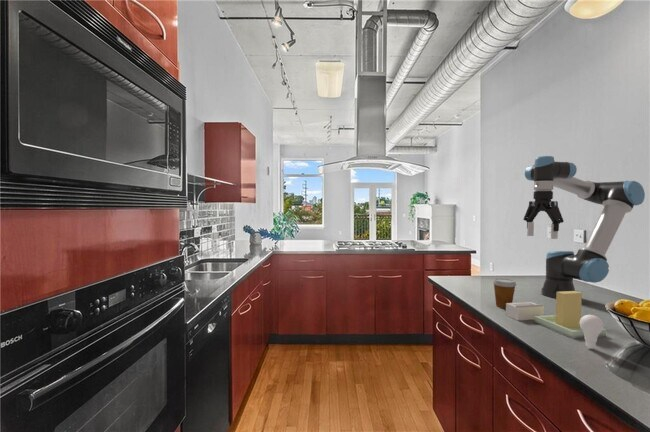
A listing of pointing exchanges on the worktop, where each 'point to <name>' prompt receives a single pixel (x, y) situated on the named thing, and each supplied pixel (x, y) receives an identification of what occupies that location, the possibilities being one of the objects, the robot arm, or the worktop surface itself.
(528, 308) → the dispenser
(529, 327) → the worktop surface
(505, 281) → the disposable coffee cup
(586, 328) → the lightbulb
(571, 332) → the tray
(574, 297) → the pale yellow tall box
